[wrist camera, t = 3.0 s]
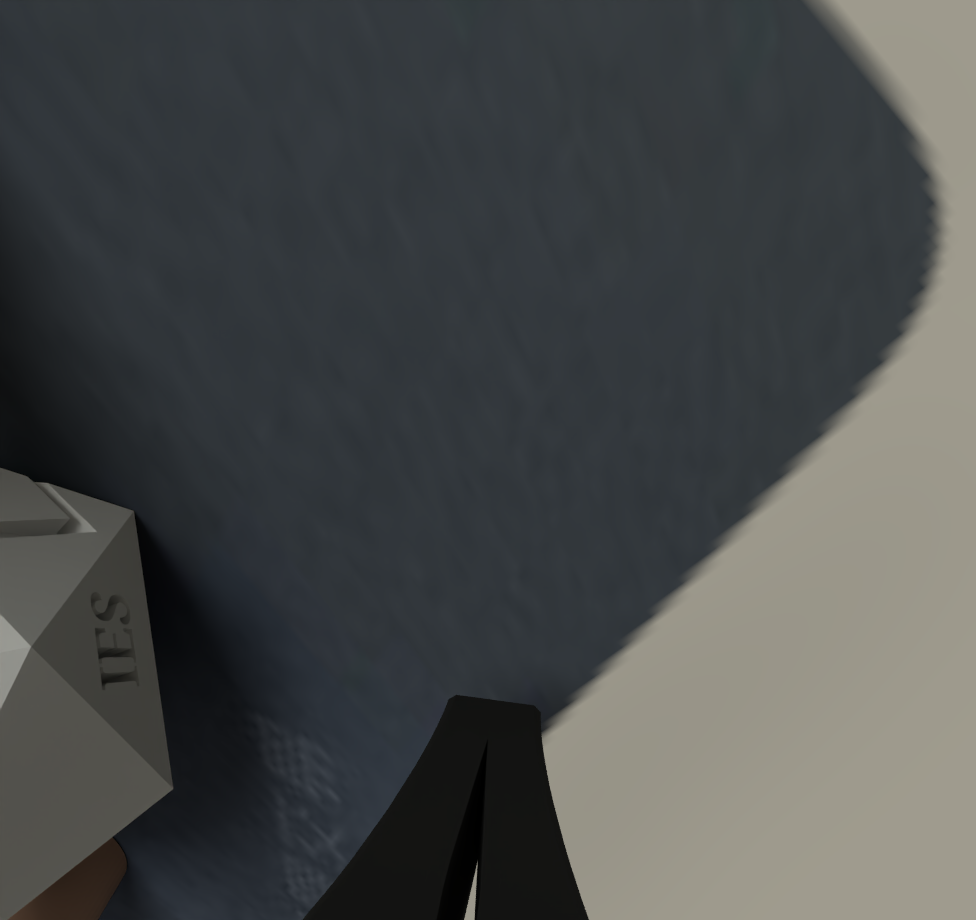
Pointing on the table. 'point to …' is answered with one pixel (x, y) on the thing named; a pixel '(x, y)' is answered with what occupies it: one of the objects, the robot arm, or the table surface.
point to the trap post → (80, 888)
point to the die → (71, 684)
